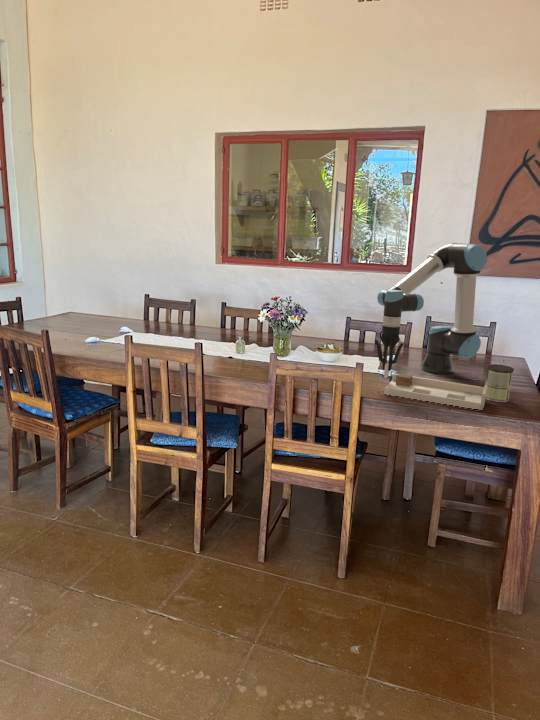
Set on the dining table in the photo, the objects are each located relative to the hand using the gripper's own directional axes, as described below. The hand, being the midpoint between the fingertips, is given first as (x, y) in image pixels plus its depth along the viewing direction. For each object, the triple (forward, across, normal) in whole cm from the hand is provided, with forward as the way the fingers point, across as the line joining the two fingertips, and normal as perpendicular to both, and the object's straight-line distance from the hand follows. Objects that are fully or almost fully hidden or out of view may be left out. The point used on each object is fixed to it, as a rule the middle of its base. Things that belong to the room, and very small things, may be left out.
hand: (386, 377), depth 235 cm
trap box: (+5, +22, -3) cm, 23 cm away
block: (+2, +8, 0) cm, 8 cm away
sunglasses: (+6, +6, +13) cm, 16 cm away
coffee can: (+5, +46, +11) cm, 48 cm away
